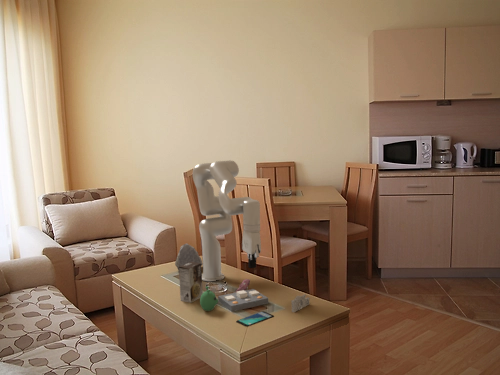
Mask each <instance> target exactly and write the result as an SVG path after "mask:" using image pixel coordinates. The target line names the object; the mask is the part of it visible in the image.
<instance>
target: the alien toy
mask: <svg viewBox="0 0 500 375" xmlns="http://www.w3.org/2000/svg"><path fill="white" fill-rule="evenodd" d="M209 288H210V286H205V289H206V291H203V294H202V295H201V297H200V298H199V304H200V307H201V308H202V309H203V310H204V311H206V312H210V311H213V310H214V309H215V307H216V305H217V304H218V303H219V302H218V298H217V296H216V294H215V292H213V291H211V290H210V289H209Z"/></svg>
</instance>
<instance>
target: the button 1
mask: <svg viewBox="0 0 500 375" xmlns="http://www.w3.org/2000/svg"><path fill="white" fill-rule="evenodd" d="M224 299H225V300H226V301H231V300H235V297H234V296H232V295H230V296H225V297H224Z"/></svg>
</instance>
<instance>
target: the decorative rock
mask: <svg viewBox="0 0 500 375" xmlns="http://www.w3.org/2000/svg"><path fill="white" fill-rule="evenodd" d="M176 256H177V257H176V260H175V263H174V264H175V267H176V268H177V270H178V271H179V266H182V265H184V264H186V263H188V262H197V263H201V267H203V259H202V258H201V256H200V255H199V252H198V251H197V250H196V249H195V247H194V246H192V245H190V244H189V243H184V244H182V245H181V246H180V247H179V251H178V254H177V255H176Z"/></svg>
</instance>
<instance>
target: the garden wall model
mask: <svg viewBox="0 0 500 375" xmlns="http://www.w3.org/2000/svg"><path fill="white" fill-rule="evenodd" d="M310 299H311V297H307V295H306V293H305V294H302V295H296V296H295V298H294V299H293V300H290V302H291V312H292V313H296V312H297V311H301V310H302V309H303V308H305V307H306V306H307V307H308V306H309V305H310ZM300 309H301V310H300Z"/></svg>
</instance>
